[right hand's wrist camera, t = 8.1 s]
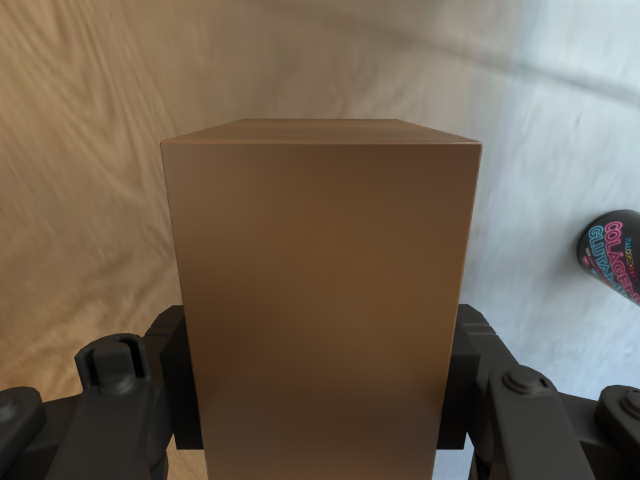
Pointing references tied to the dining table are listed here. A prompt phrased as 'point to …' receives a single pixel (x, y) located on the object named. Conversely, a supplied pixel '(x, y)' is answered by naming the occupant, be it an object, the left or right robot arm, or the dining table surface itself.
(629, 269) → the supplement container
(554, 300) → the dining table surface
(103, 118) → the dining table surface
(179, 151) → the beam
